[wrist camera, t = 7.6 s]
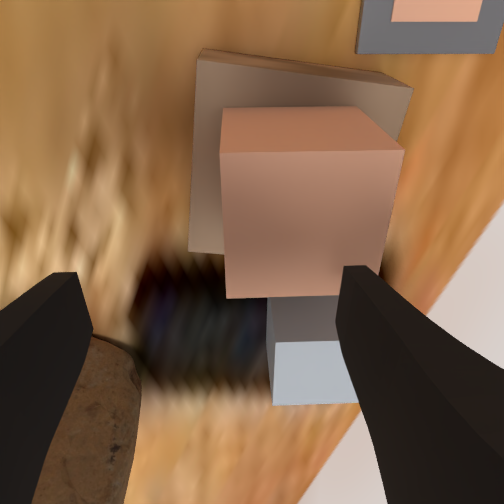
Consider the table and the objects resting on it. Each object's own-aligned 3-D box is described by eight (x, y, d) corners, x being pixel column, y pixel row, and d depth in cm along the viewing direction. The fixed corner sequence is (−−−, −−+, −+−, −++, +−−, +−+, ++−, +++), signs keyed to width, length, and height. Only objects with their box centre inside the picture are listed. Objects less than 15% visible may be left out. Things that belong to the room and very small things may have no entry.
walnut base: (194, 211, 21) (187, 251, 18) (203, 47, 17) (196, 59, 14) (337, 224, 22) (356, 265, 19) (380, 71, 18) (413, 88, 15)
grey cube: (266, 341, 27) (272, 405, 22) (267, 282, 24) (275, 342, 20) (339, 339, 27) (359, 402, 23) (349, 280, 24) (374, 339, 20)
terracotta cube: (227, 225, 17) (226, 298, 13) (222, 107, 15) (219, 152, 10) (340, 222, 18) (374, 294, 13) (356, 105, 15) (405, 150, 11)
